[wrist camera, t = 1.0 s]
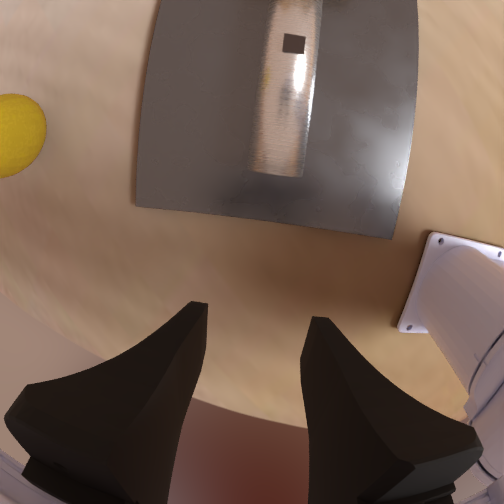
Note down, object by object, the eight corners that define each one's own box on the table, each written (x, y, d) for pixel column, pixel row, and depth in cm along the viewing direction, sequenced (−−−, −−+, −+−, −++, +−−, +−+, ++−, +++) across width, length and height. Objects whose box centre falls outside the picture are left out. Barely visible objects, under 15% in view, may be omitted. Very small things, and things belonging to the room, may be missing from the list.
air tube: (273, -28, 11) (277, -52, 8) (319, -20, 11) (330, -43, 8) (247, 166, 16) (246, 171, 13) (297, 172, 16) (307, 179, 13)
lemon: (54, 81, 14) (-27, 73, 7) (77, 141, 16) (-11, 154, 8) (13, 125, 15) (-62, 136, 8) (33, 181, 17) (-45, 209, 9)
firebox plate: (404, -62, 8) (430, -93, 3) (388, 236, 17) (426, 272, 12) (197, -92, 8) (181, -129, 3) (139, 204, 17) (95, 229, 12)
